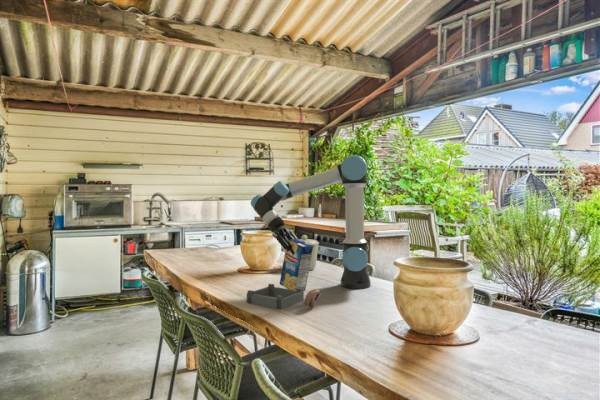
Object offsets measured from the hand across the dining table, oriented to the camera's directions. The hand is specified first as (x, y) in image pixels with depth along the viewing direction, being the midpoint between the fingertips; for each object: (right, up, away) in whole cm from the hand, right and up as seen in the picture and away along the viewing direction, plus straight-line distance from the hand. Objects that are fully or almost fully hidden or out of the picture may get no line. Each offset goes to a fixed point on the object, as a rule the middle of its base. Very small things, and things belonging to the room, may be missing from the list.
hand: (303, 258), depth 189 cm
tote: (-12, -17, -10) cm, 23 cm away
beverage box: (-5, -14, +4) cm, 16 cm away
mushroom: (+3, -18, -21) cm, 28 cm away
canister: (+1, -16, +63) cm, 65 cm away
